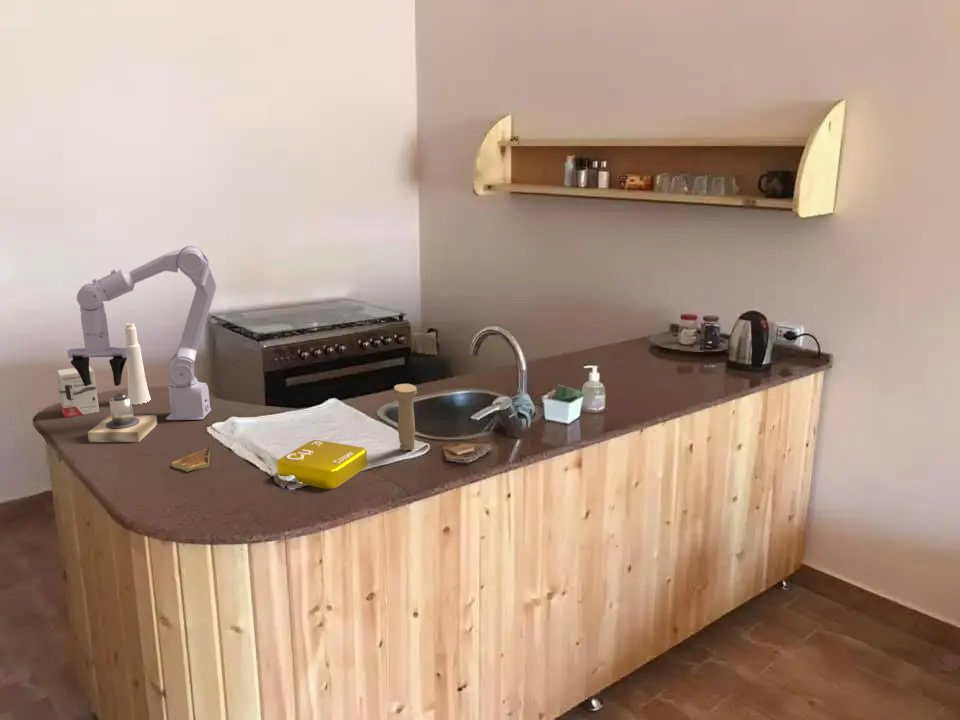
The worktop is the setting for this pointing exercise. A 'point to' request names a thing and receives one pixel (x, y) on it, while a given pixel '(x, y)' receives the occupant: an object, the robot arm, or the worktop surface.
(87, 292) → the robot arm
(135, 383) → the cosmetic bottle
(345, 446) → the element tile
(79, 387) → the ink box
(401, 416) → the handle
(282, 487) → the worktop surface
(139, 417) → the stand
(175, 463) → the shard
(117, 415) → the cylinder
